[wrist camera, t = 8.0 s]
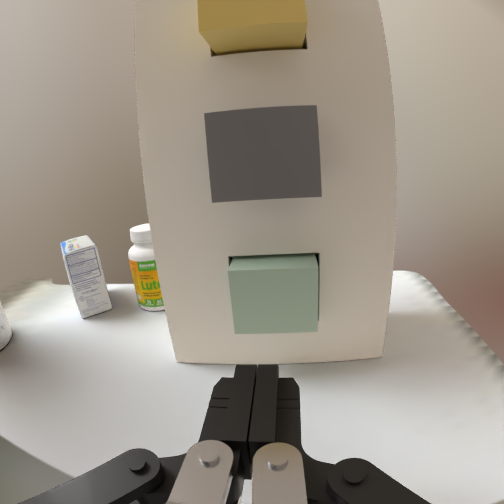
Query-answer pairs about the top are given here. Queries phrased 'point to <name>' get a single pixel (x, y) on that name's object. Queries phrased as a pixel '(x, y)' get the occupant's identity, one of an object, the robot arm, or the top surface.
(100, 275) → the medicine box
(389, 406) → the top surface
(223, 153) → the charcoal key
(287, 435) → the robot arm
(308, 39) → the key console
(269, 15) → the tan square block
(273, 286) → the sage key
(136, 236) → the supplement bottle
